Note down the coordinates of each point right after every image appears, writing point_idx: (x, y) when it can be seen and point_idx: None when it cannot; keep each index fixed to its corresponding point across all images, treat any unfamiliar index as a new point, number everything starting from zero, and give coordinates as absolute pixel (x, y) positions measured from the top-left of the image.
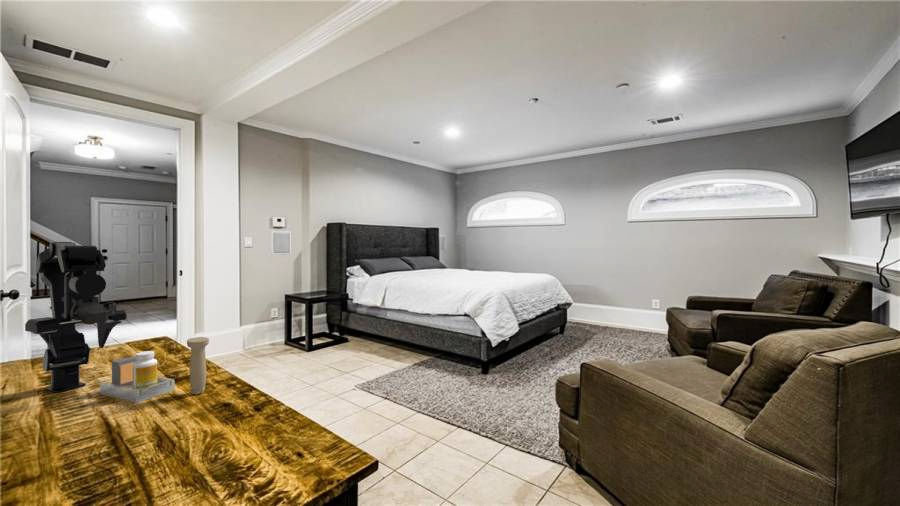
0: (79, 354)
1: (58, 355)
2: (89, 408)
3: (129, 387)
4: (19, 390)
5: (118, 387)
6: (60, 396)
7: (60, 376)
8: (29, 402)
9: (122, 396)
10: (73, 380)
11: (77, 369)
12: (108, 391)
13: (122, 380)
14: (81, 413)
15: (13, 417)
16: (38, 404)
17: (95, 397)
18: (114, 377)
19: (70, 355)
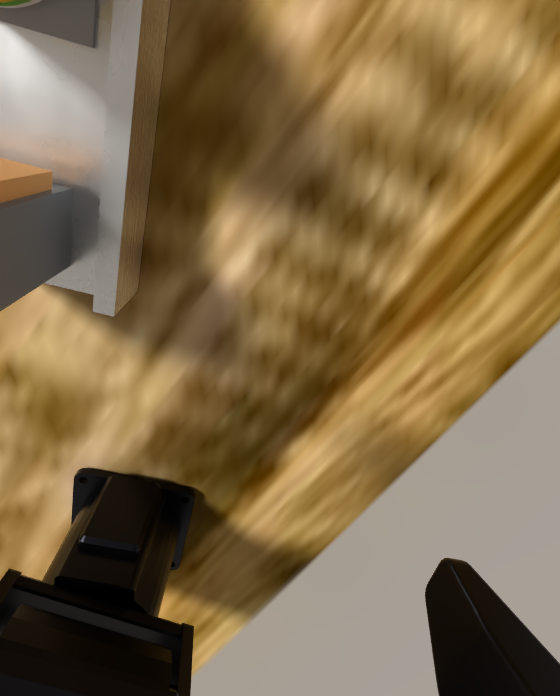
0: (29, 645)
1: (468, 572)
2: (341, 106)
3: (40, 96)
4: (206, 625)
5: (137, 61)
6: (220, 443)
7: (152, 563)
8: (304, 491)
9: (163, 9)
10: (122, 506)
11: (74, 557)
12: (138, 205)
13: (29, 170)
14: (420, 71)
15: (466, 390)
16: (319, 438)
17: (187, 259)
18: (38, 254)
19: (82, 665)
